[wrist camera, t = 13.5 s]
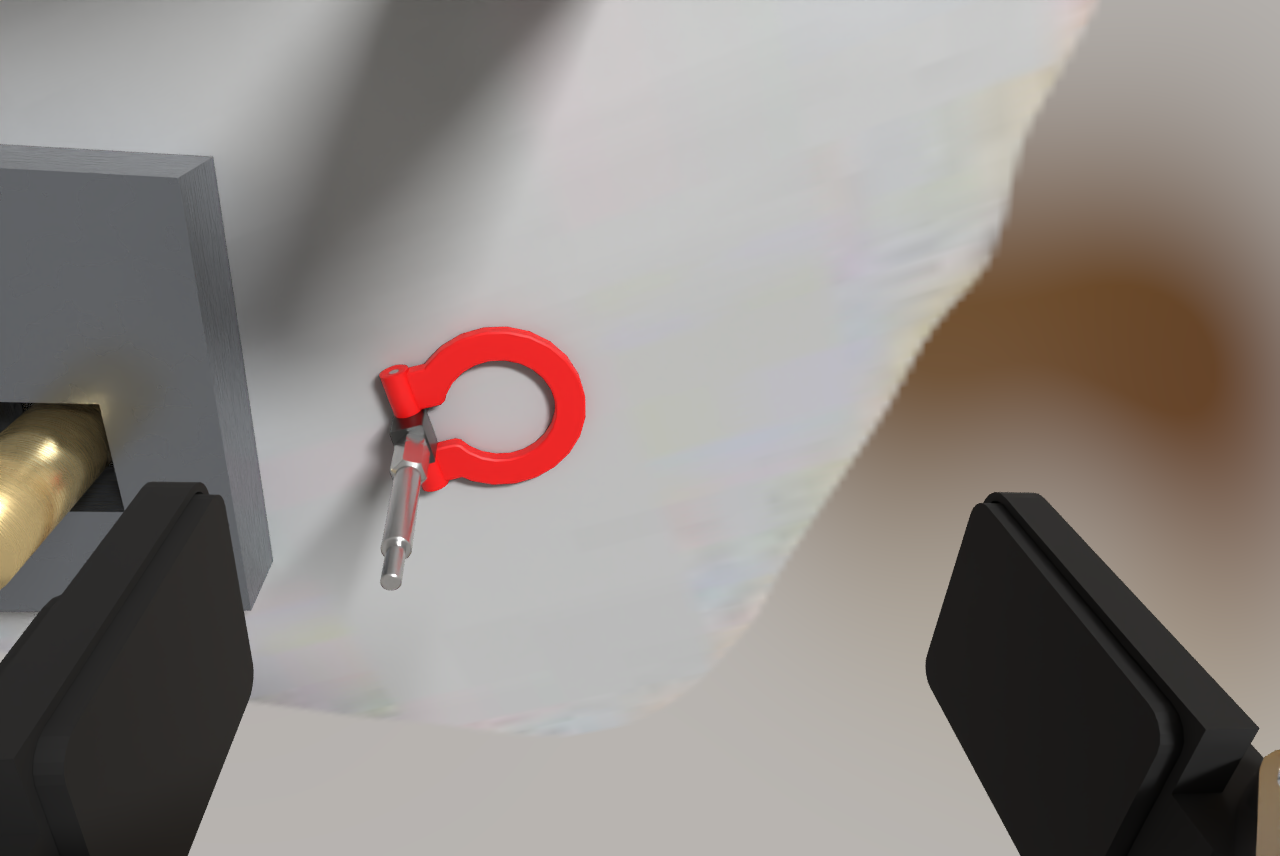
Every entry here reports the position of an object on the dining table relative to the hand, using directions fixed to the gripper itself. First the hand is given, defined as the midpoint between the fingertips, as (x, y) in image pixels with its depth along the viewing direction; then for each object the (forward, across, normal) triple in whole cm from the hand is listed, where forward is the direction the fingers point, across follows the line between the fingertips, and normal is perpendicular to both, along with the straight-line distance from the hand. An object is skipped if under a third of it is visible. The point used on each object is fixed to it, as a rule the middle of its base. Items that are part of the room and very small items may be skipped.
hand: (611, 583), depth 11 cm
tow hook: (+31, +3, +13) cm, 33 cm away
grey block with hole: (+30, +22, +12) cm, 39 cm away
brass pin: (+30, +22, +14) cm, 40 cm away
